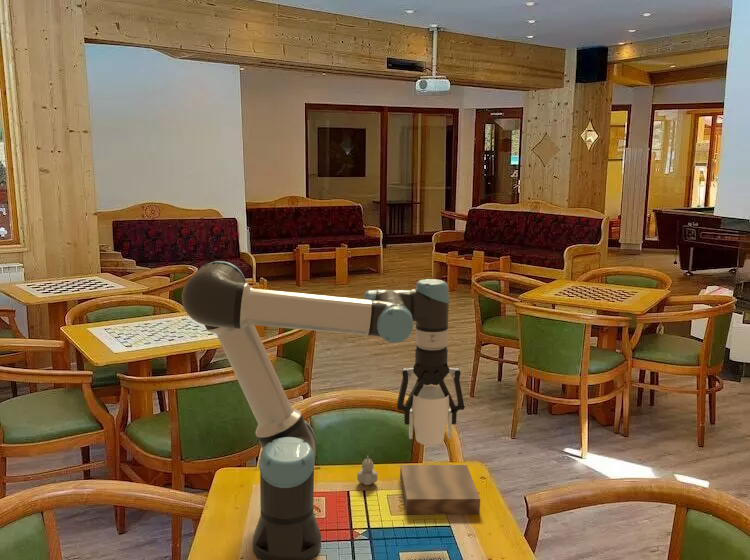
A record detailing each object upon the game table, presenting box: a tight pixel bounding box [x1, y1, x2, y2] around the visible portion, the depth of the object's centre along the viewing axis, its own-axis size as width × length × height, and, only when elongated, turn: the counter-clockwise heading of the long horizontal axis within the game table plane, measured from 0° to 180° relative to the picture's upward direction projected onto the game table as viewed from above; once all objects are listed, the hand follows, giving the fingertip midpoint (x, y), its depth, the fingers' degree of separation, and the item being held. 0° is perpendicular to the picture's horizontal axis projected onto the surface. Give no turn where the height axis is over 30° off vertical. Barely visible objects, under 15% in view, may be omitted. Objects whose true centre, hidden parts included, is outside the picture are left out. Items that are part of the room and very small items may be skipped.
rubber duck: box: [356, 455, 379, 486], centre depth 179 cm, size 5×7×8 cm
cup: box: [411, 385, 450, 447], centre depth 162 cm, size 9×9×12 cm
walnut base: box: [399, 464, 481, 515], centre depth 175 cm, size 18×18×4 cm
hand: (429, 436), depth 163 cm, fingers closed on cup, 9 cm apart
